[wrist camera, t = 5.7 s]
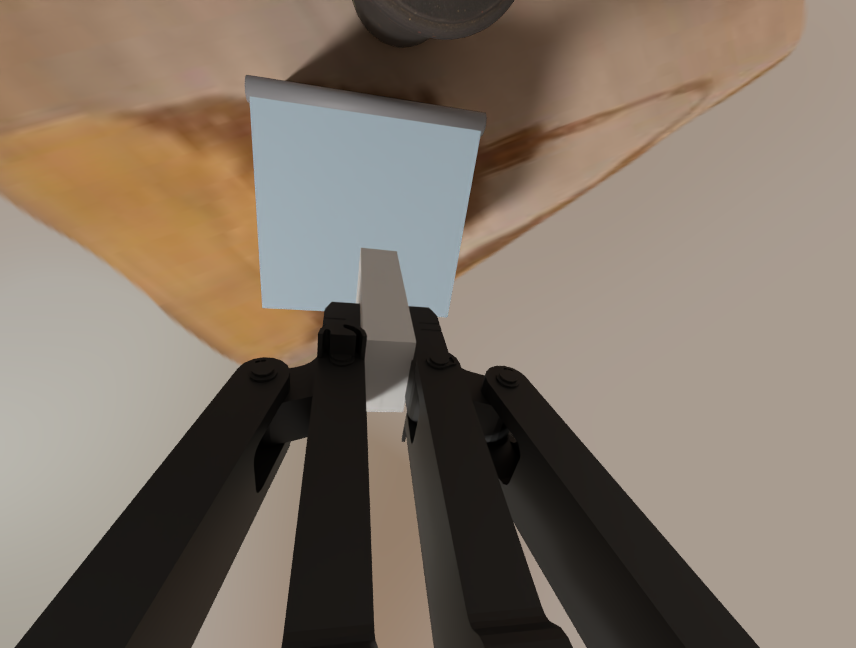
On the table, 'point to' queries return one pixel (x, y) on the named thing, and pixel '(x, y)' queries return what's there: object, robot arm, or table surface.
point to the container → (427, 18)
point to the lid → (357, 191)
